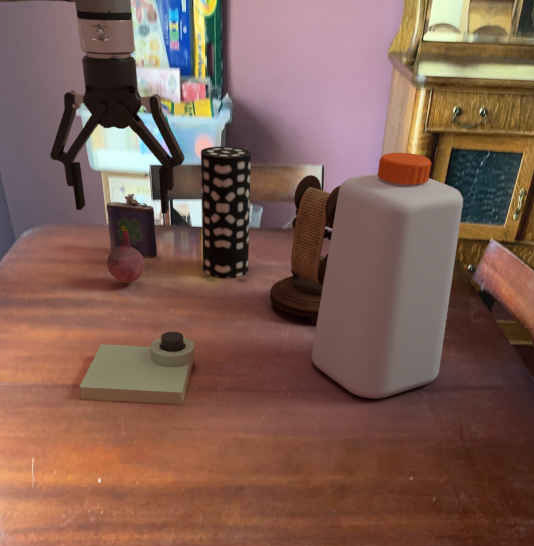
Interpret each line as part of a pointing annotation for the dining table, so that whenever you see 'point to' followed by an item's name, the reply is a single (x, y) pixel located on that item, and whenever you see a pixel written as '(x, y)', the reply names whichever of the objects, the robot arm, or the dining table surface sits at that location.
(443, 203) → the plastic bottle
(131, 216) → the flask
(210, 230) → the white-spotted black cylinder
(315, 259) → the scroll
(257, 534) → the dining table surface
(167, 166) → the robot arm
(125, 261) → the vegetable
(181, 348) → the button
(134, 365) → the scale
